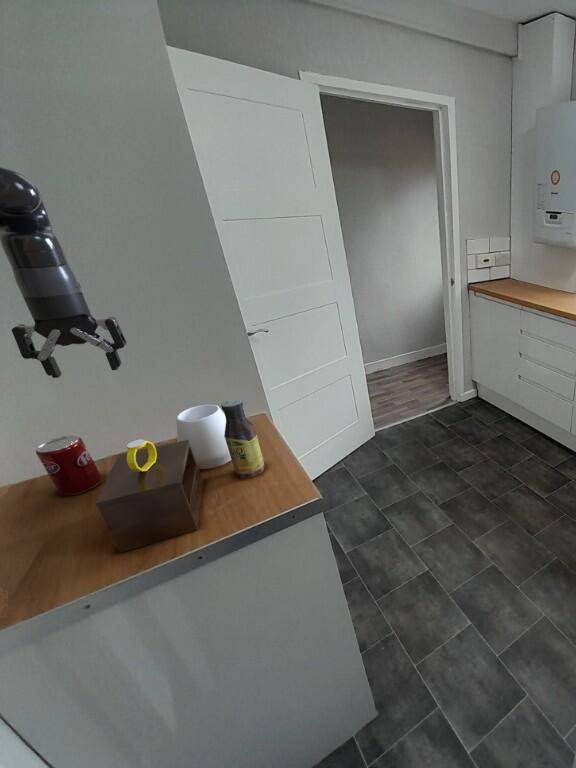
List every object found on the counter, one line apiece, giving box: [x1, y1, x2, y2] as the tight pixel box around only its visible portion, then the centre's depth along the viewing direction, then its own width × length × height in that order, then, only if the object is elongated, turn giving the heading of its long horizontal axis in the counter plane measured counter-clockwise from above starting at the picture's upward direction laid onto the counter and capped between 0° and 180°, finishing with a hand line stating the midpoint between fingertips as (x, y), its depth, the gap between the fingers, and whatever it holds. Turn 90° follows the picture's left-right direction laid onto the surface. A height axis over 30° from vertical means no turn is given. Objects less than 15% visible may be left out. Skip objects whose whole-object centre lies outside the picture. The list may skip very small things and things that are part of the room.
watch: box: [126, 439, 157, 472], centre depth 81 cm, size 6×3×6 cm, turn 8°
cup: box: [176, 404, 232, 470], centre depth 103 cm, size 13×13×14 cm
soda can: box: [35, 434, 103, 496], centre depth 93 cm, size 7×7×12 cm
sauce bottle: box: [220, 398, 266, 479], centre depth 97 cm, size 7×6×20 cm
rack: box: [95, 440, 204, 554], centre depth 85 cm, size 12×18×12 cm, turn 31°
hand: (87, 372), depth 81 cm, fingers open, 8 cm apart
